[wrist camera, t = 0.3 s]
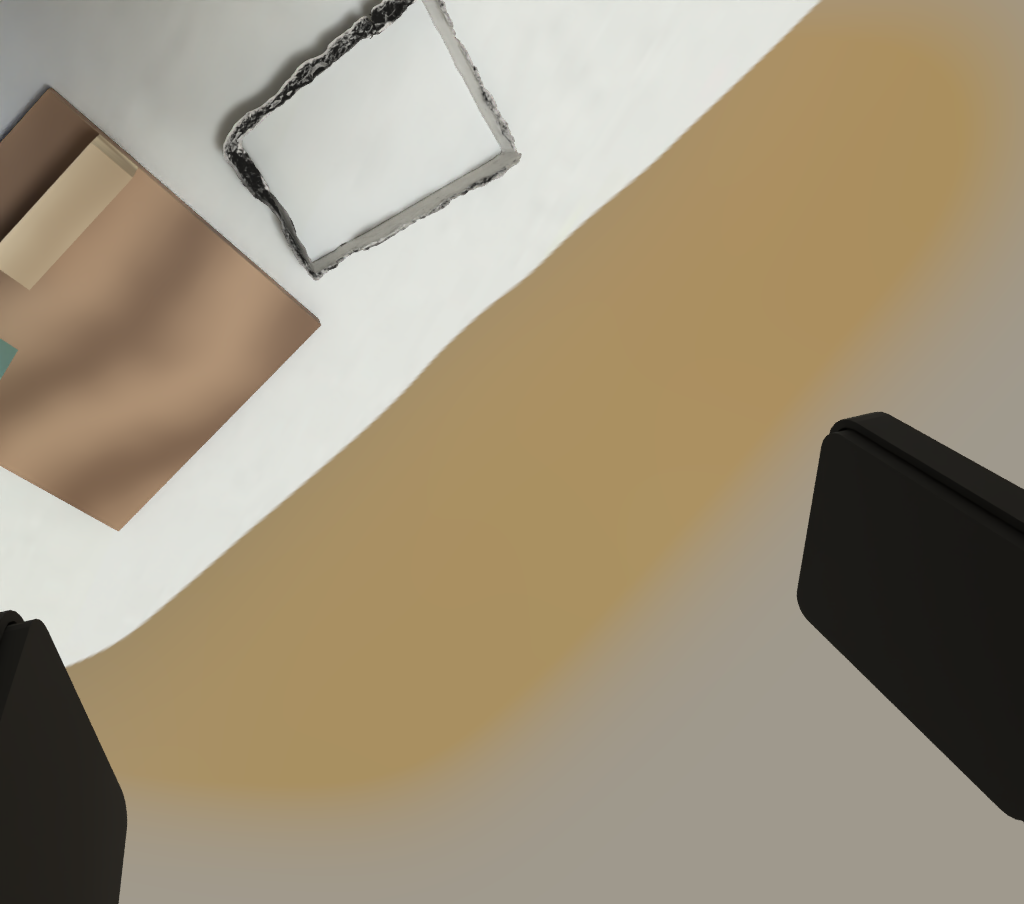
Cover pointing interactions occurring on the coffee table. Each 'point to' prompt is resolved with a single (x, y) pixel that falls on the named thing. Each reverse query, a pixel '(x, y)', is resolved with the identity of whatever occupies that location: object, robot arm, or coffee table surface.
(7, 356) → the teal block
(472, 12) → the coffee table surface
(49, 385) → the walnut board
